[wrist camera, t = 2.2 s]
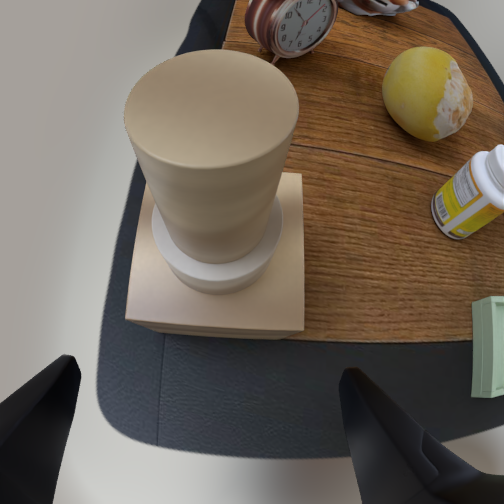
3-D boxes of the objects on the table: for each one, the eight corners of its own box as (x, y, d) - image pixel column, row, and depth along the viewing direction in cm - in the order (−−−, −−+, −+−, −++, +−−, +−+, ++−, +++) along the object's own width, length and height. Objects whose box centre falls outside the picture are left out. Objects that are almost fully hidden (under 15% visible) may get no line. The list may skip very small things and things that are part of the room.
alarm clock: (263, 75, 32) (280, -42, 18) (238, 55, 33) (246, -53, 19) (329, 53, 34) (358, -42, 20) (304, 35, 35) (325, -56, 21)
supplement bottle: (475, 221, 28) (536, 175, 18) (455, 252, 26) (526, 208, 17) (442, 182, 29) (497, 127, 19) (419, 209, 28) (481, 152, 18)
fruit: (367, 136, 30) (406, 67, 20) (373, 79, 33) (400, 19, 24) (447, 172, 30) (498, 119, 20) (441, 111, 33) (477, 60, 24)
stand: (279, 339, 23) (304, 330, 15) (157, 332, 22) (124, 319, 15) (281, 226, 26) (301, 173, 18) (170, 220, 25) (149, 165, 18)
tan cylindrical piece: (242, 315, 15) (264, 247, 6) (143, 261, 16) (54, 143, 6) (292, 220, 17) (353, 79, 8) (199, 175, 18) (182, 23, 8)
